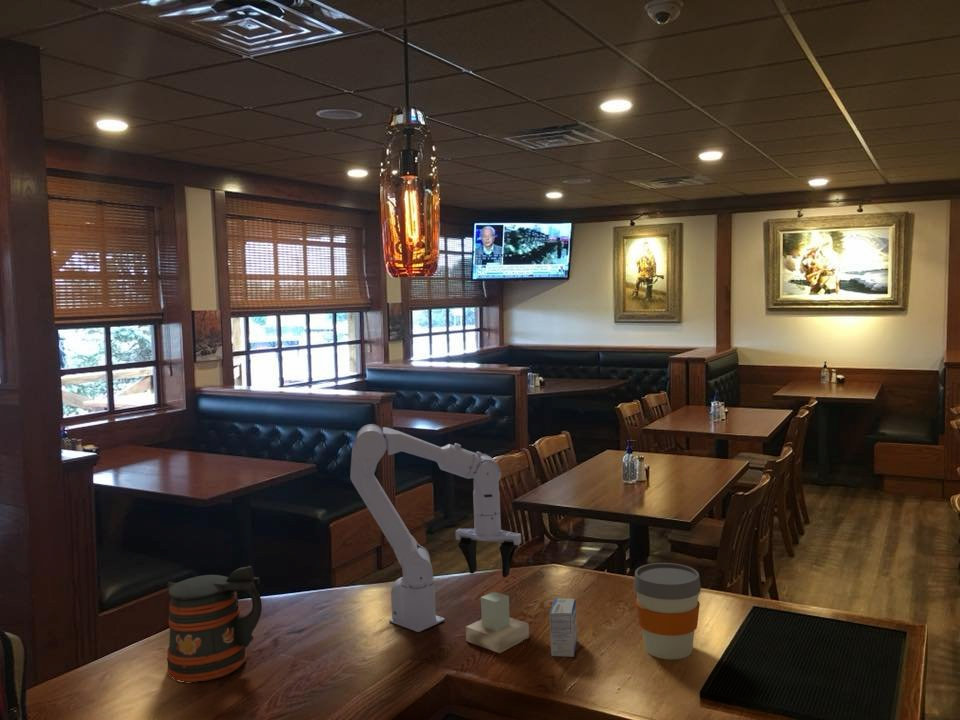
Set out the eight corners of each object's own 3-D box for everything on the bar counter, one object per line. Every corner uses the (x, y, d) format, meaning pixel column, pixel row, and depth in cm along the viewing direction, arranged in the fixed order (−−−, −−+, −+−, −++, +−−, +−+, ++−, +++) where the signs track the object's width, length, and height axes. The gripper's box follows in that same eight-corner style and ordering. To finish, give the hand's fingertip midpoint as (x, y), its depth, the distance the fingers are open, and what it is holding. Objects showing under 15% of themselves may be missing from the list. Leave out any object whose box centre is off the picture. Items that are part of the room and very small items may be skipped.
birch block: (466, 641, 161) (465, 626, 161) (495, 626, 167) (495, 612, 167) (499, 653, 155) (499, 638, 154) (529, 637, 161) (528, 623, 161)
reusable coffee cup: (706, 640, 157) (705, 566, 156) (695, 668, 145) (694, 588, 144) (643, 631, 162) (641, 559, 161) (628, 657, 151) (626, 580, 150)
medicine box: (574, 658, 152) (572, 613, 151) (550, 656, 152) (549, 612, 152) (577, 640, 159) (576, 598, 159) (555, 639, 160) (553, 597, 159)
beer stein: (279, 648, 161) (273, 552, 159) (254, 683, 146) (247, 577, 145) (187, 649, 162) (180, 553, 160) (153, 684, 147) (146, 579, 146)
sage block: (481, 626, 160) (480, 597, 160) (495, 619, 163) (494, 591, 163) (496, 631, 158) (495, 602, 157) (509, 624, 161) (508, 595, 160)
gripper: (448, 514, 170) (451, 576, 171) (512, 519, 165) (514, 583, 166) (461, 506, 177) (464, 566, 178) (523, 510, 171) (525, 572, 172)
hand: (489, 573), depth 172 cm, fingers open, 7 cm apart
